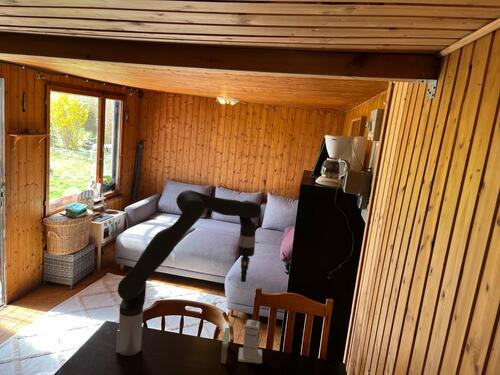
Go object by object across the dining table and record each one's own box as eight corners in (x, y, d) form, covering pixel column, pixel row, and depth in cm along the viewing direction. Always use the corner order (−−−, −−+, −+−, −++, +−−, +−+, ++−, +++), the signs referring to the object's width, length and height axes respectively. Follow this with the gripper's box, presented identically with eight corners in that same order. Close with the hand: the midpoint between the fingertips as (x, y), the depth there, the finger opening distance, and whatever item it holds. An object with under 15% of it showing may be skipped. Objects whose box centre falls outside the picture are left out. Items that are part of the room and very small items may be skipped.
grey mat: (238, 361, 149) (238, 359, 149) (239, 349, 157) (239, 347, 157) (261, 363, 149) (262, 361, 149) (261, 351, 157) (262, 349, 157)
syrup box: (255, 360, 149) (258, 327, 147) (241, 357, 150) (244, 325, 148) (257, 352, 155) (260, 321, 153) (244, 350, 155) (247, 318, 154)
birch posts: (220, 363, 147) (222, 347, 146) (223, 345, 159) (225, 330, 158) (225, 363, 146) (226, 347, 146) (228, 345, 159) (229, 331, 158)
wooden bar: (222, 347, 146) (222, 343, 146) (225, 330, 158) (225, 327, 158) (226, 347, 146) (227, 344, 146) (229, 331, 158) (229, 328, 158)
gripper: (254, 249, 156) (251, 285, 158) (255, 240, 170) (252, 273, 173) (237, 248, 156) (234, 283, 159) (239, 239, 171) (236, 271, 173)
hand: (243, 278), depth 166 cm, fingers open, 8 cm apart
